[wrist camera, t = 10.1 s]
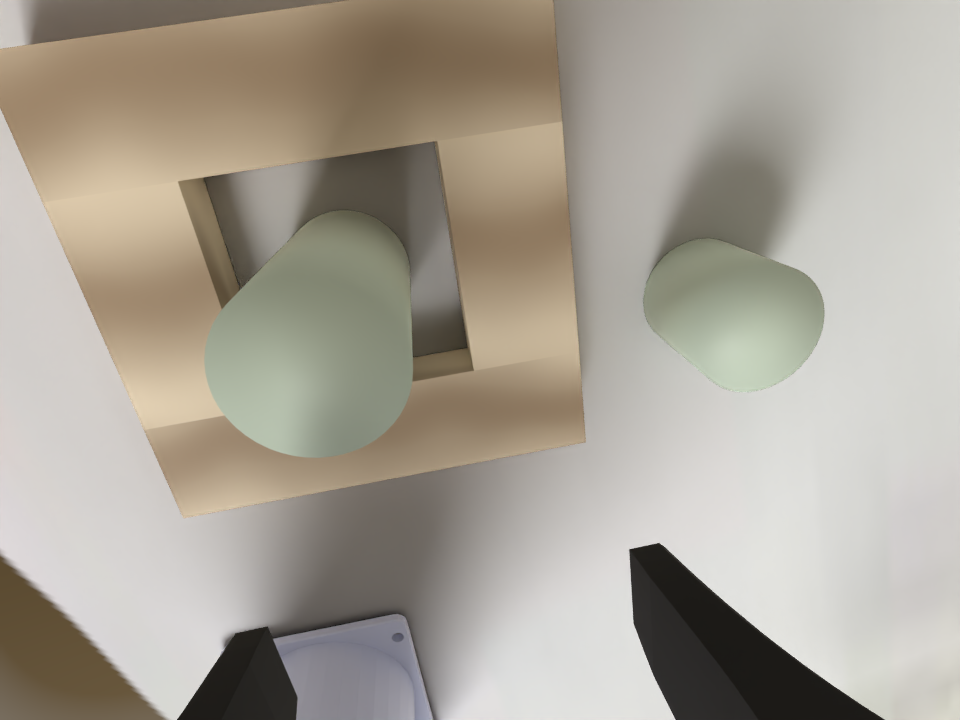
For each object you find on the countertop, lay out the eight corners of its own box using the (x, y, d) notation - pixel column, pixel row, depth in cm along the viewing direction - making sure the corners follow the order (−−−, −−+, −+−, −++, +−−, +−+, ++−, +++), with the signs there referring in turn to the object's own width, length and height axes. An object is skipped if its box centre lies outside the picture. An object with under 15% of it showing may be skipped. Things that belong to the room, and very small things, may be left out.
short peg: (746, 334, 21) (816, 379, 18) (643, 353, 21) (694, 402, 17) (752, 229, 20) (832, 254, 16) (641, 248, 19) (696, 278, 16)
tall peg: (423, 313, 19) (434, 430, 12) (310, 342, 19) (251, 478, 12) (390, 196, 18) (380, 249, 10) (266, 227, 18) (167, 303, 10)
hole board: (570, 414, 22) (585, 442, 20) (202, 483, 21) (183, 518, 19) (534, -12, 16) (551, -29, 14) (26, 60, 15) (-25, 52, 13)
